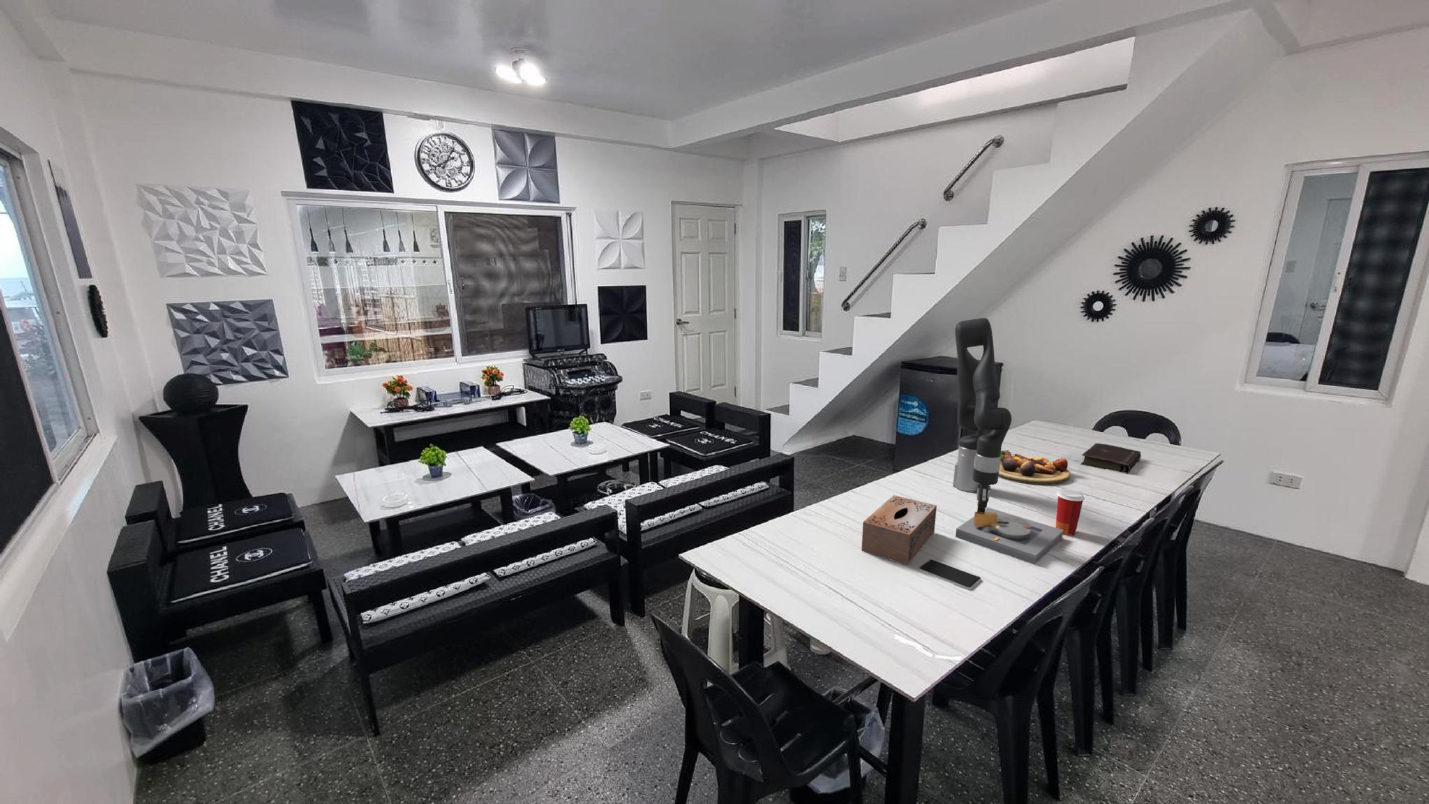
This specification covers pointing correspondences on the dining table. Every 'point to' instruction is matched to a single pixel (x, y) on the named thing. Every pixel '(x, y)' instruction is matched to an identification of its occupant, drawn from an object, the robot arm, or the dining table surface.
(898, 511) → the tissue box cover
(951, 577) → the smartphone
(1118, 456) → the diary
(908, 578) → the dining table surface
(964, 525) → the panel
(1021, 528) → the dial
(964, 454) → the robot arm
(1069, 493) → the paper cup
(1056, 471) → the wooden plate with food
